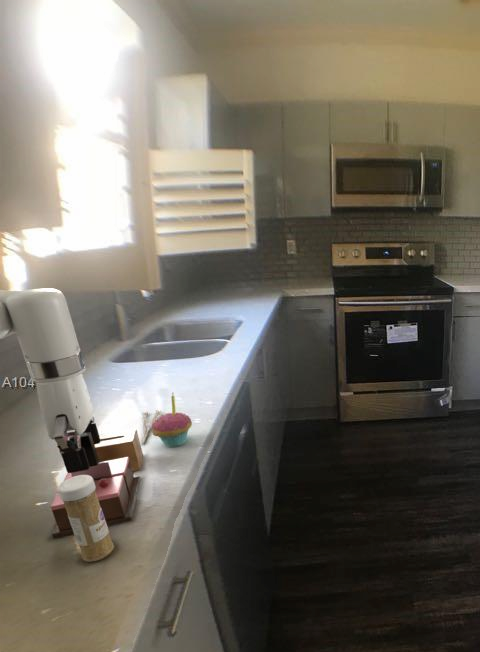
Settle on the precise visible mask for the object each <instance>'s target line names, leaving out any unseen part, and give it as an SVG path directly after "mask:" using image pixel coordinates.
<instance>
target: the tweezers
mask: <svg viewBox="0 0 480 652" xmlns="http://www.w3.org/2000/svg"><path fill="white" fill-rule="evenodd" d="M161 413H162V409H160V410H159V409H158V410H157V409H155V414H154V415H153V416H152V417H153V418H152V419H151V421H150V423H149V424H148V427H147V425H146V424H147V423H146V417H147V416H148V415H149V411H146V412H142V413H141V415H142V423H143V424H142V425H143V432H142V433H143V435H142V441H141V442H142V444H144V445H145V441H146V439H147V436H148V433H149V431H150V429H151V428H152V424H153V423H154V422H155V420H157V419H158V416H159V415H160V414H161Z"/></svg>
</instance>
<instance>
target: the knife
mask: <svg viewBox="0 0 480 652" xmlns="http://www.w3.org/2000/svg"><path fill="white" fill-rule="evenodd" d="M68 440H71V441H73V442H74V443H75V440H74V437H71V438H68ZM80 440H81V448H83V447H84V450H85V453H86V456H87V460H88V463H89V466H90V467H89V469H88V470H84V471H79V472H73V473H71V475H72V477H74V476H78V475H89V476H91V477H92V478H93V480H94V481H96V480H100V479H102V478H111V477H113V476H112V473H111V469H110V466H109V462H108V461H107V462H101V463H99V458H98V455H97V452H96V449H95V445H94V442H93V439H92V435H91V432H88V433H82V434H81V435H80Z"/></svg>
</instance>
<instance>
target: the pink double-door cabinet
mask: <svg viewBox="0 0 480 652" xmlns="http://www.w3.org/2000/svg"><path fill="white" fill-rule="evenodd" d="M104 462H107V461H104ZM108 462H109V466H110V469H111V473H112V476H113V477H111V478H102V479H100V480H96V481H94V483H95V492H96V495H97V498H98V501H99V504H100V507H101V509H102V512H103V515H104V518H105V521H106V524H107V527H108V526H112V525H113V526H114V525H117V524H122V523H125V522H130V521H132V520H133V516H134V511H135V507H136V503H137V499H138V498H137V497H138V493H139V489H140V485H141V481H142V478H141V476H134V471H133V472H132V469H131V465H130V461H129V458H128V457H125V458H120V459H115V460H109V461H108ZM99 463H101V462H99ZM71 477H72V475H71V473H68V472H67V473H66V475H65V477H64V479H63V481H65V480H67V479H69V478H71ZM50 509H51V512H52V515H53V517H54V520H55V523H56V524H55V527H54V529H53V531H52V532H51V536H52V538H53V539H55V538H59V537H64V536H69V535H74V532H73V529H72V527H71V524H70V521H69V518H68V514H67V511H66V508H65V505H64V502H63V500H61V498H60V495H59V492H58V491H57V493H56V495H55V497H54V499H53V501H52V503H51V505H50Z"/></svg>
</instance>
